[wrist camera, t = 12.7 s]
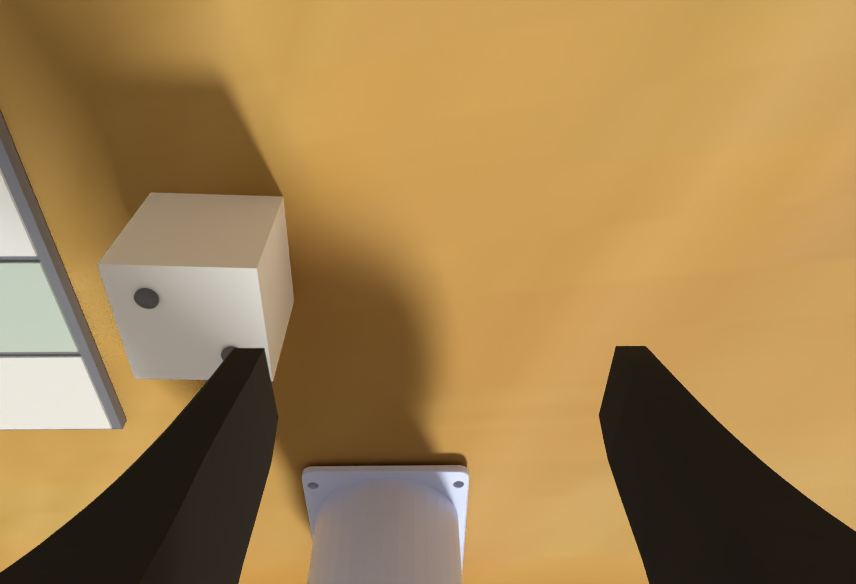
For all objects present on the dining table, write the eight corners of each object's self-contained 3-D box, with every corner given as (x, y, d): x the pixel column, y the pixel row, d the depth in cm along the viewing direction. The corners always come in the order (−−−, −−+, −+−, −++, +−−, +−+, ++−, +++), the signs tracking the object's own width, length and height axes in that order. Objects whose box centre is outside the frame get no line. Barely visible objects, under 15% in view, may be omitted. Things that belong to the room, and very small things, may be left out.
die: (294, 299, 24) (272, 383, 20) (174, 296, 24) (130, 380, 20) (283, 195, 21) (255, 270, 18) (148, 191, 21) (91, 266, 18)
